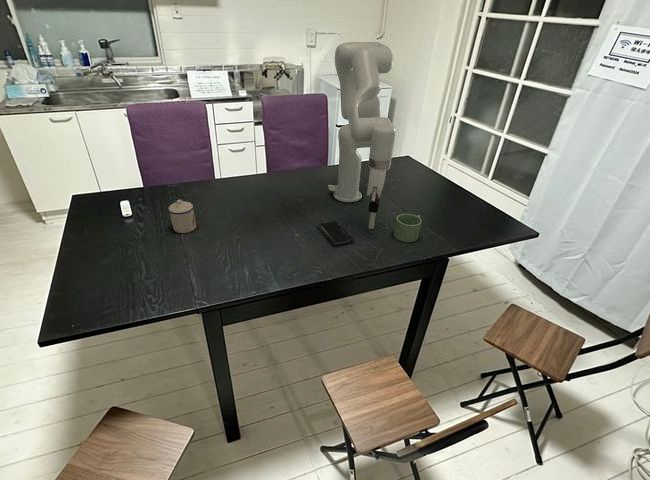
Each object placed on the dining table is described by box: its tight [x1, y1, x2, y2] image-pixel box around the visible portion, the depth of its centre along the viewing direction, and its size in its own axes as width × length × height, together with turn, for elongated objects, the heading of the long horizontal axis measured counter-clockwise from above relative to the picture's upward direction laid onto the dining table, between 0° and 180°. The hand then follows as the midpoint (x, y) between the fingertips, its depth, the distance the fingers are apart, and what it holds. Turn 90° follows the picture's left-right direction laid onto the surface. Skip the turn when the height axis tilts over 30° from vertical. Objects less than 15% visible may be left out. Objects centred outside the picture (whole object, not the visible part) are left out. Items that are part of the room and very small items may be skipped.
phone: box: [318, 220, 353, 247], centre depth 144 cm, size 8×1×15 cm
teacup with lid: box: [168, 199, 197, 234], centre depth 145 cm, size 12×9×12 cm
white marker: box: [367, 194, 377, 230], centre depth 140 cm, size 2×2×14 cm
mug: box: [393, 213, 423, 243], centre depth 143 cm, size 12×9×7 cm
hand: (373, 209), depth 140 cm, fingers closed on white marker, 2 cm apart
